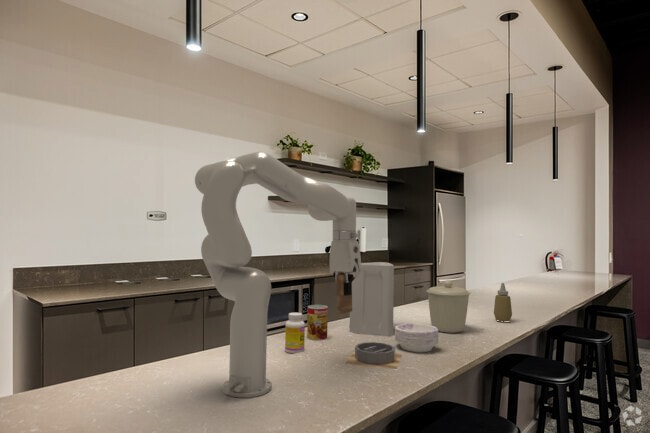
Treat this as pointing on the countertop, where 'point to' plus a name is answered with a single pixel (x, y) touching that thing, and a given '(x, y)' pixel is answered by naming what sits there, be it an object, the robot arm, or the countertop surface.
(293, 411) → the countertop surface
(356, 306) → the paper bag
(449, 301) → the canister
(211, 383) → the countertop surface
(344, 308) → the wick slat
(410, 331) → the paper bowls
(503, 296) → the squeeze bottle
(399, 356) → the cork mat
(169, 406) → the countertop surface
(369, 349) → the clip
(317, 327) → the canned food
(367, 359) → the round grey dish
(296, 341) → the supplement bottle
